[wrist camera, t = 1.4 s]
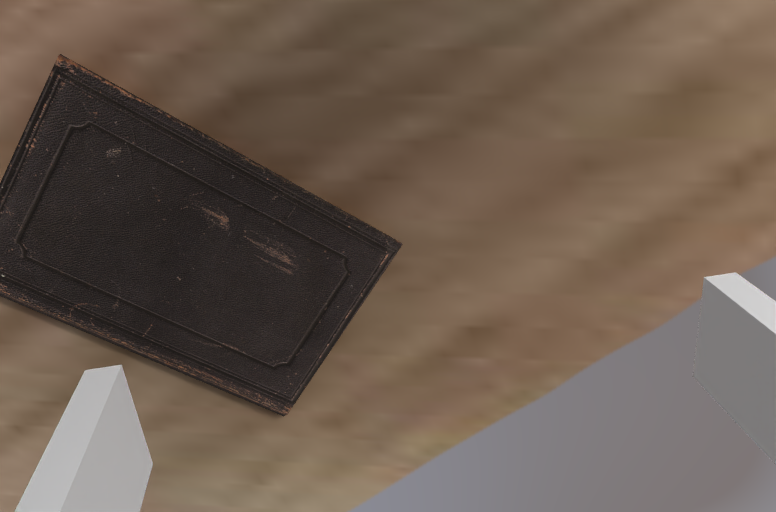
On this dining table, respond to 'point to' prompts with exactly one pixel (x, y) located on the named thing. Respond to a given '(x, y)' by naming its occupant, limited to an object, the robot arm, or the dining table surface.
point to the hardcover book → (177, 243)
